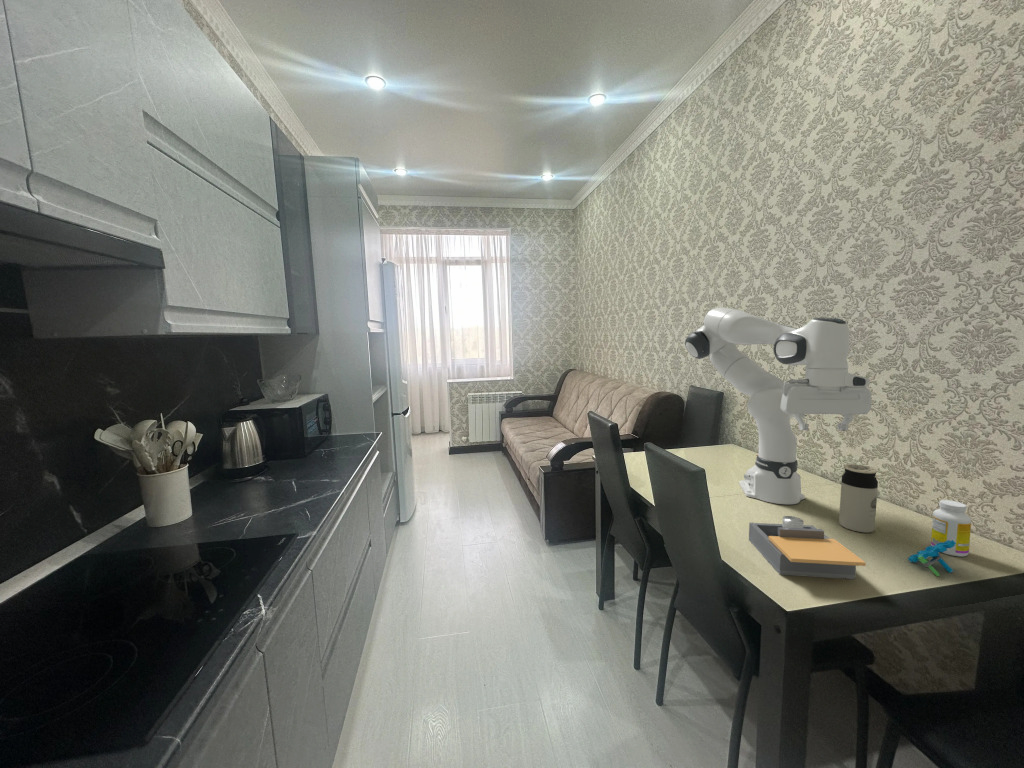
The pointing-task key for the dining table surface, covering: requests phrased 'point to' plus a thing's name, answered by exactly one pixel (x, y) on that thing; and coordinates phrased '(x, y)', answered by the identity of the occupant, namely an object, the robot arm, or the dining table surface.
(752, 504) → the dining table surface
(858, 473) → the travel mug
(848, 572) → the housing
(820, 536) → the lid
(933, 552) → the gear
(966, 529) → the supplement bottle
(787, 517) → the silver rounded cylinder
